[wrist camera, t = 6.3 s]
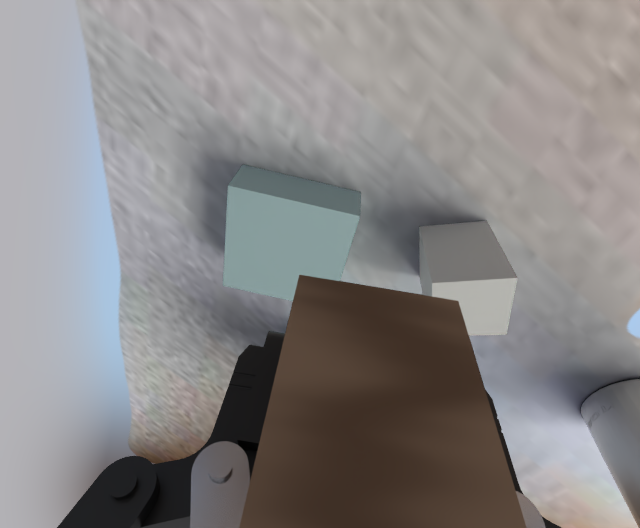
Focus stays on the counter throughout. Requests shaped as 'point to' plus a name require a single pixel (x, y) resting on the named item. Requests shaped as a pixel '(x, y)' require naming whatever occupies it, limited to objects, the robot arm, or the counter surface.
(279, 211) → the pedestal block
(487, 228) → the grey block
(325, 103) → the counter surface
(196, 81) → the counter surface
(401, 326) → the walnut block
